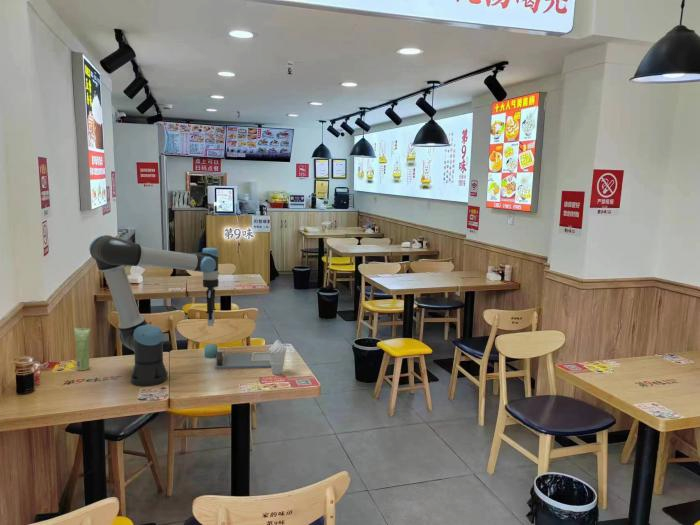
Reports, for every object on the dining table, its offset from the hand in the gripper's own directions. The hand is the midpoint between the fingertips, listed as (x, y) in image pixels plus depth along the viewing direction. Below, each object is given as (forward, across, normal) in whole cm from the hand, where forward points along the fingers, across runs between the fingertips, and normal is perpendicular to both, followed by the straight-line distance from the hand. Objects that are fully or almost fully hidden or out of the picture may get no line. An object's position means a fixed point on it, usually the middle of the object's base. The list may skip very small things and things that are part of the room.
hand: (211, 324), depth 261 cm
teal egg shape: (+17, 0, 0) cm, 17 cm away
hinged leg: (+15, -12, -6) cm, 20 cm away
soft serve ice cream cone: (+17, -28, -33) cm, 46 cm away
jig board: (+17, -10, -19) cm, 27 cm away
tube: (+17, -16, +56) cm, 60 cm away
